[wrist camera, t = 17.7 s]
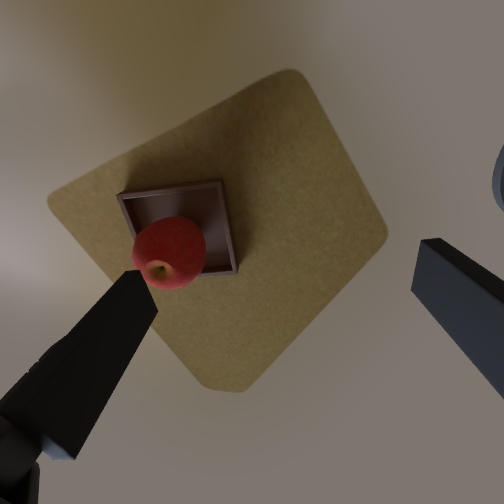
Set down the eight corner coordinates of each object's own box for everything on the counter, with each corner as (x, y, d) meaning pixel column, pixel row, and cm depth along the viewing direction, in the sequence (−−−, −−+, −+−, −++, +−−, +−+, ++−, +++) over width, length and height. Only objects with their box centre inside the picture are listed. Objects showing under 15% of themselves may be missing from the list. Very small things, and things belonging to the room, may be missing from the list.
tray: (222, 178, 38) (220, 181, 36) (238, 266, 46) (237, 273, 44) (123, 190, 39) (115, 194, 37) (155, 274, 47) (150, 281, 45)
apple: (143, 229, 42) (96, 273, 30) (181, 191, 39) (144, 225, 27) (188, 267, 46) (161, 321, 34) (225, 236, 42) (211, 283, 30)
